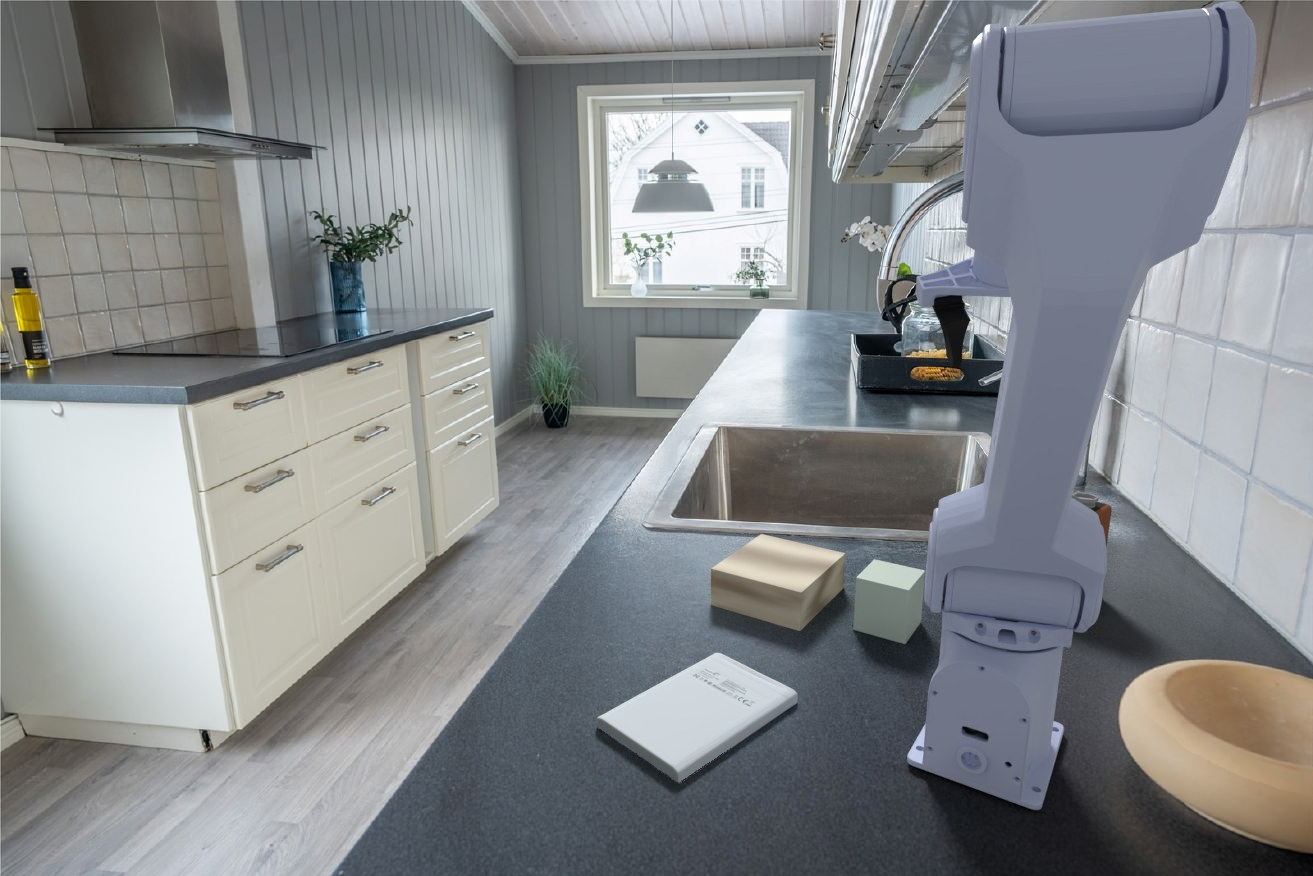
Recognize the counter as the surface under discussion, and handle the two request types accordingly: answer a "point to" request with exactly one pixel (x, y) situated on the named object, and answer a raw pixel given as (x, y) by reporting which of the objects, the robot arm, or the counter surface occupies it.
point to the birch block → (778, 581)
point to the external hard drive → (697, 714)
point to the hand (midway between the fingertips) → (996, 354)
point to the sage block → (889, 600)
